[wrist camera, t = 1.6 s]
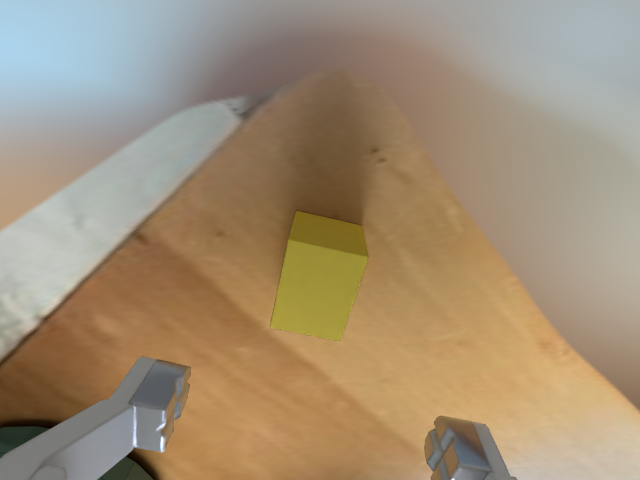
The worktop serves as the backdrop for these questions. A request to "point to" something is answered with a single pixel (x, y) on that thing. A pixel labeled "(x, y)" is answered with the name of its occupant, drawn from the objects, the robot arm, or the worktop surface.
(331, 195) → the worktop surface
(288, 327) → the yellow block
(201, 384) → the worktop surface
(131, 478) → the bowl
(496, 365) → the worktop surface
